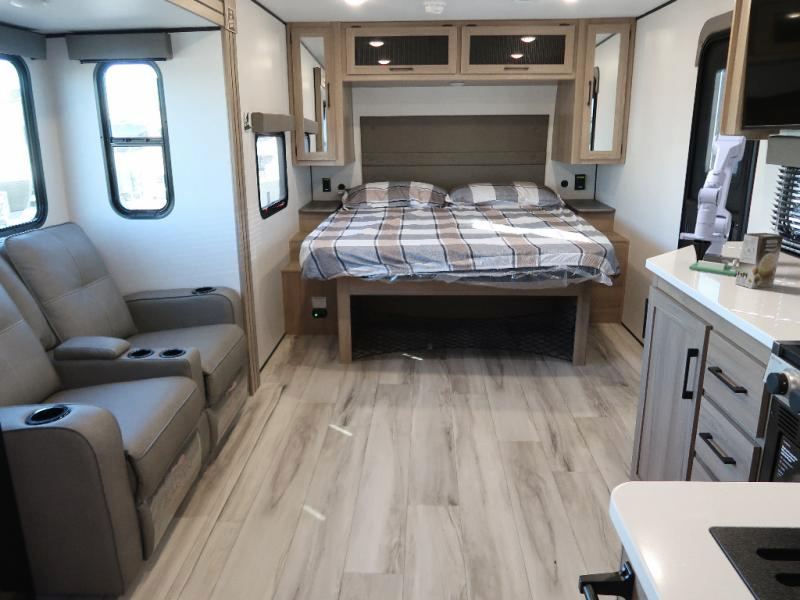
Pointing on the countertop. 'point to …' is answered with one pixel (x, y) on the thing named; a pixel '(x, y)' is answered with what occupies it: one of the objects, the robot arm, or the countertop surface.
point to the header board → (716, 267)
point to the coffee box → (758, 260)
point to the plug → (712, 258)
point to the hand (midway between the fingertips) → (699, 261)
